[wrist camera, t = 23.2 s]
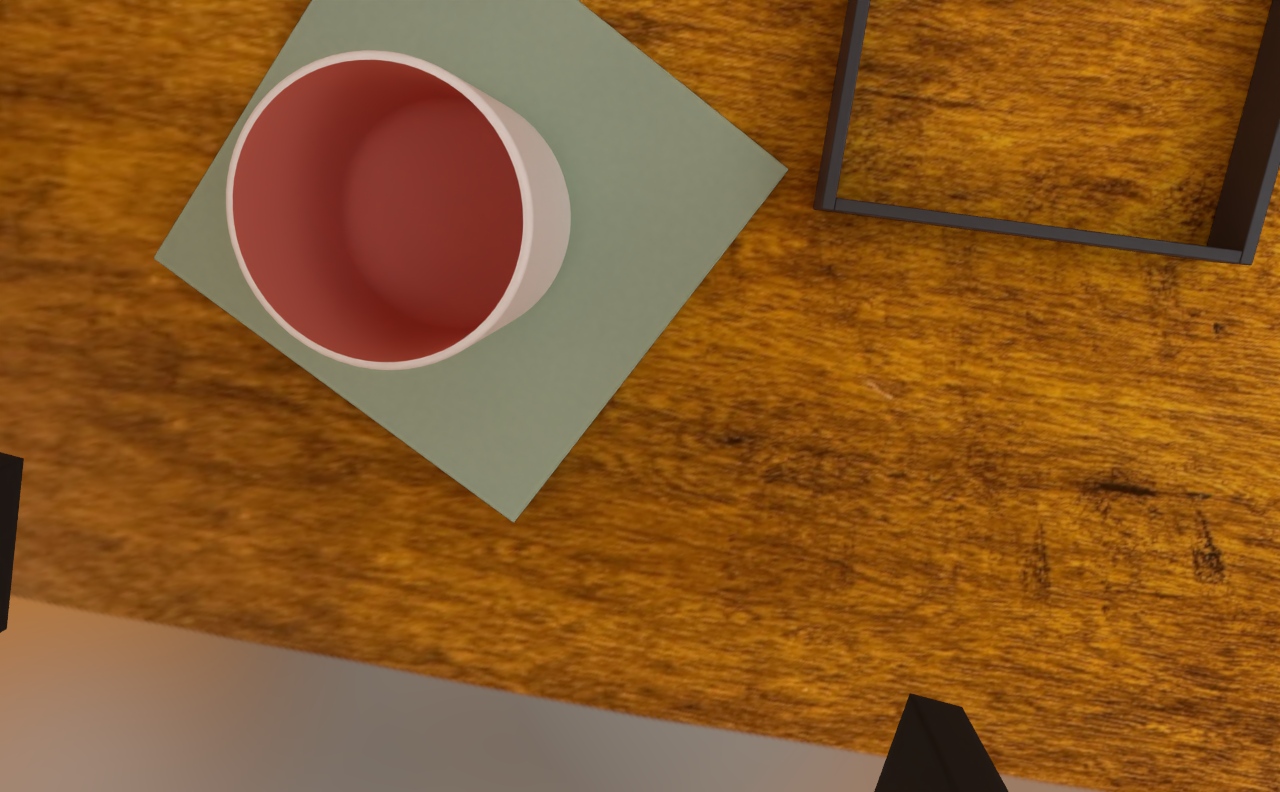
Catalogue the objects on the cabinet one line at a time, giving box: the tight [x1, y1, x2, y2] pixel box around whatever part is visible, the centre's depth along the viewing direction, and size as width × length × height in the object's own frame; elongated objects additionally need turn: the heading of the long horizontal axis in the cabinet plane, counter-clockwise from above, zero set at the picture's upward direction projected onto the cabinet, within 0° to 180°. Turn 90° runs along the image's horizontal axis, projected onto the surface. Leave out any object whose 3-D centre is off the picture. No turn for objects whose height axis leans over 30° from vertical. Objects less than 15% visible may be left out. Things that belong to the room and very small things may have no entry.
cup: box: [226, 50, 571, 370], centre depth 32 cm, size 10×10×10 cm
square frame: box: [813, 0, 1280, 265], centre depth 33 cm, size 17×17×2 cm
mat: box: [154, 0, 788, 522], centre depth 37 cm, size 20×20×1 cm
